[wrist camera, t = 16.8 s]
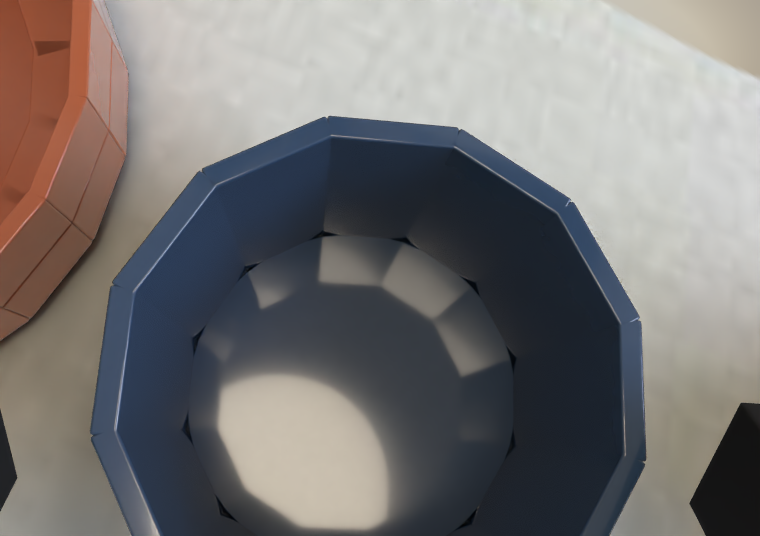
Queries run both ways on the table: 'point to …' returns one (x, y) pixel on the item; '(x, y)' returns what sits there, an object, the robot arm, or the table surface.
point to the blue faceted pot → (370, 349)
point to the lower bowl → (55, 143)
